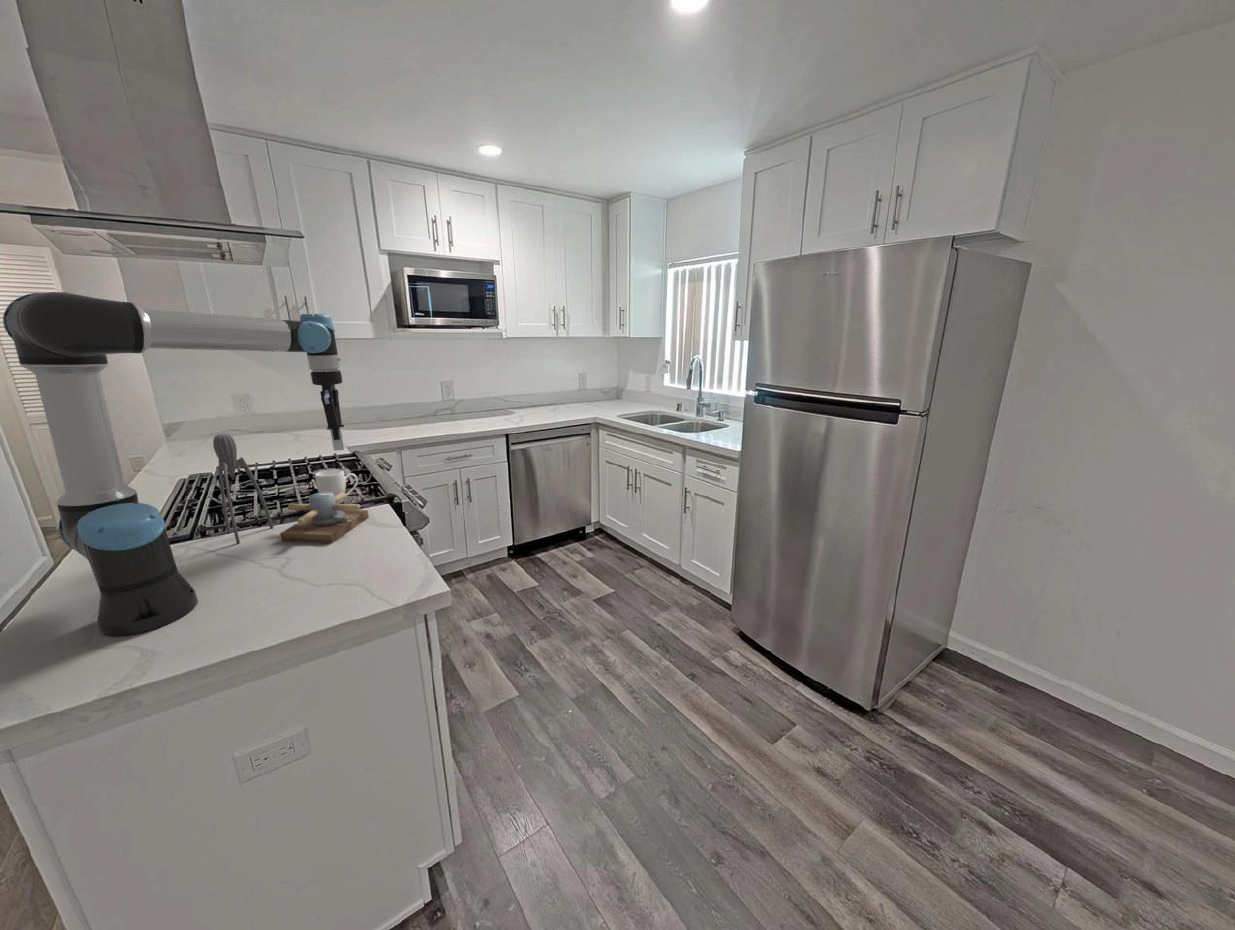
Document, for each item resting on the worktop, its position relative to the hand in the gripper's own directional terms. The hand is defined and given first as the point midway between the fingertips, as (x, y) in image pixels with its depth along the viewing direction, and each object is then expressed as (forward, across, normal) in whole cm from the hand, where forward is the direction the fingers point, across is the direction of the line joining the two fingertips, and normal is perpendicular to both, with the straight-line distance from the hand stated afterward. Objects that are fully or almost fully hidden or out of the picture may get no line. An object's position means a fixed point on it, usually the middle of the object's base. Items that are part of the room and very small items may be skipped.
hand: (339, 449), depth 144 cm
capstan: (+20, -7, +5) cm, 21 cm away
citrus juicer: (+23, -1, +28) cm, 36 cm away
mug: (+23, +16, +5) cm, 28 cm away
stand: (+22, -6, +6) cm, 24 cm away
